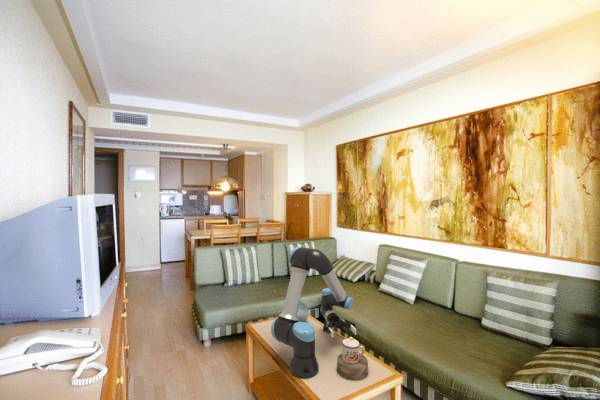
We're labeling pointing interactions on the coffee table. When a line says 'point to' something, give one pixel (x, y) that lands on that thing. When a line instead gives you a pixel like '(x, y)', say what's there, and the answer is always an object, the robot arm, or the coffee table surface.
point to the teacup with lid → (351, 350)
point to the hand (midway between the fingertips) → (344, 333)
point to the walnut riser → (353, 368)
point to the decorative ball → (302, 312)
